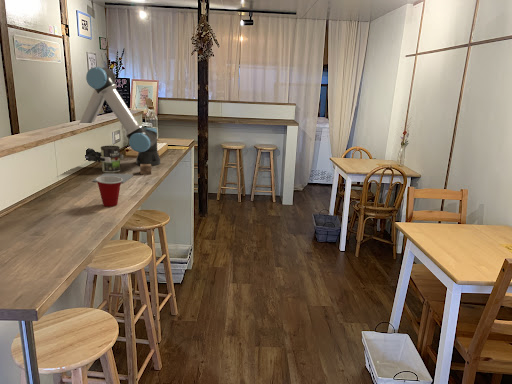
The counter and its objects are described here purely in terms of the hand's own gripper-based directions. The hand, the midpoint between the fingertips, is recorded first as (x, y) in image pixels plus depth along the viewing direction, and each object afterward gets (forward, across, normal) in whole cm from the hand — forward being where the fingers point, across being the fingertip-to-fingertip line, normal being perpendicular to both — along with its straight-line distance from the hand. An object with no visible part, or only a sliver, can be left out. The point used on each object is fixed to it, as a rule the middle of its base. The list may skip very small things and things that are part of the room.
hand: (116, 158), depth 226 cm
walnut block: (+16, -5, -8) cm, 19 cm away
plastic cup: (+38, +50, -8) cm, 63 cm away
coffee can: (-4, 0, -8) cm, 9 cm away
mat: (+9, +14, -8) cm, 19 cm away
